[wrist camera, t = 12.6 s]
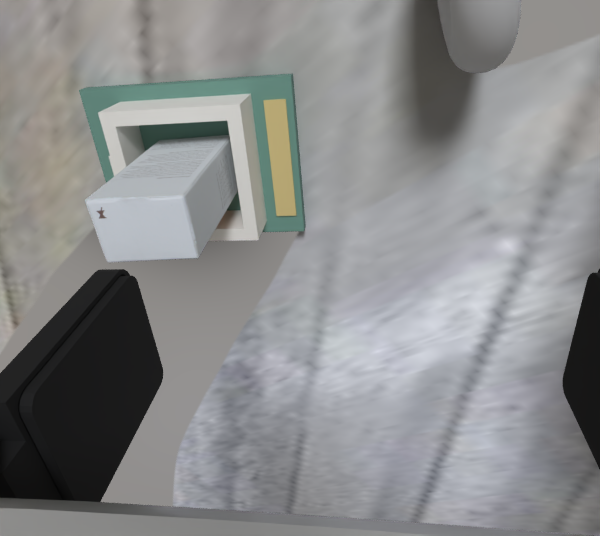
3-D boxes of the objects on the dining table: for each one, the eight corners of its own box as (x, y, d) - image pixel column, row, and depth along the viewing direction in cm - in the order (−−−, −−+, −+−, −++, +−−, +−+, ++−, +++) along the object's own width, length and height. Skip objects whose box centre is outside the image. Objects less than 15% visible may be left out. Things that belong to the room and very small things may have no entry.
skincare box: (172, 190, 40) (103, 264, 29) (159, 138, 37) (80, 198, 27) (244, 186, 39) (199, 261, 28) (235, 132, 36) (183, 192, 26)
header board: (292, 73, 35) (283, 85, 31) (305, 225, 41) (298, 251, 37) (85, 87, 37) (52, 100, 33) (126, 229, 43) (102, 254, 39)
